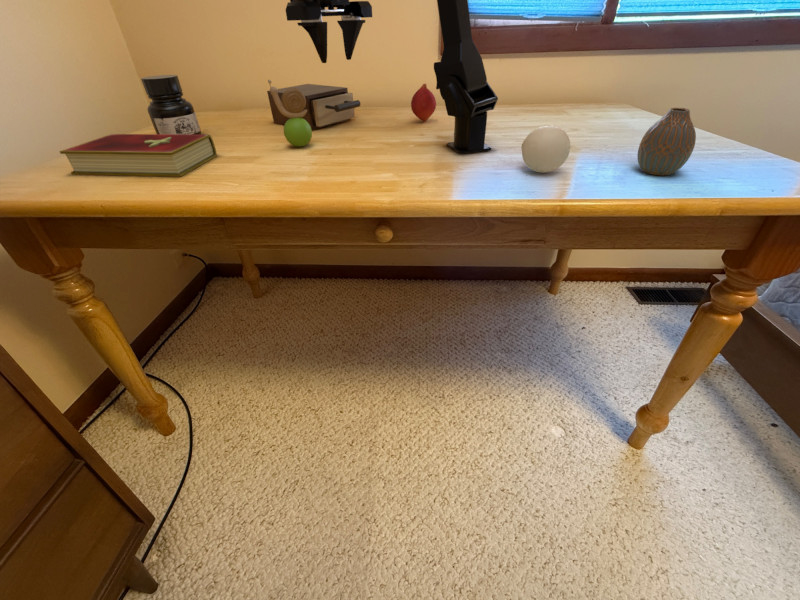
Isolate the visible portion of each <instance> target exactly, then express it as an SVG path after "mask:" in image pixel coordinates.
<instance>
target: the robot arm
mask: <svg viewBox="0 0 800 600" xmlns="http://www.w3.org/2000/svg"><path fill="white" fill-rule="evenodd" d="M289 1H290V2H289ZM289 1H288V2H287V4H286V7H285V16H286V21H291V22H292V21H300V22H297V23H296V24H297V26H299V27H302V28H303V29H304V30H305V31H306V32H307V33H308V35H309V37H310V39H311V41H312V44H313V46H314V48H315V50H316V52H317V55H318V57H319V59H320V61H321V63H322V64H327V62H328V21H323V17H340V18H341V20H337V21H336V22H337V24H338V26H339V27H340V29H341V32H342V39H343V49H344V55H345V59H346V60H347V61H350V60H352V58H353V54H354V51H355V47H356V45H357V44H356V43H357V41H358V37H359V35H360V33H361V30H362V27H363V25H364V24H365V23H366V19H365V18H373V6H372V4H371V3H370V1H368V0H354V1H353V0H352V1H350V0H289ZM436 4H437V5H436V6H437V10H438V17H439V24H440V31H441V32H440V33H441V40H442V46H443V47H442V53H441V57H440V61H435V62H433V72H434V74H435V75H434V76H435V79H436V86H435V89H436V90H439V94H440V97H441V98H442V100H443V101H444V105H445V109H446V114H447V116H448V117H453V118H454V129H453V141H450V142H446V147H448V148H450V149H451V150H453V151H454V152H456V153H457V154H460V155H463V154H471V153H472V154H473V153H479V152H487V151H492V148H493V147H492V146H490V145H489V144H487V143H485V142H486V133H487V123H488V122H487V121H488V112H489V111H493V110H494V109H495V108H496V105H497V103H498V100H499V97H498V96H497V94H496V93H495V91H494V90H493V88H492V87H491V85H490V84H489V82H488V79H487V73H486V70H485V66H484V65H485V64H484V61H483V58H482V55H481V54H480V52H479V49H478V48H477V45H476V44H475V42H474V40H473V35H472V26H471V17H470V8H469V7H470V6H469V0H436ZM326 8H327V9H326ZM335 8H336V9H335ZM363 18H364V19H363Z"/></svg>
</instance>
